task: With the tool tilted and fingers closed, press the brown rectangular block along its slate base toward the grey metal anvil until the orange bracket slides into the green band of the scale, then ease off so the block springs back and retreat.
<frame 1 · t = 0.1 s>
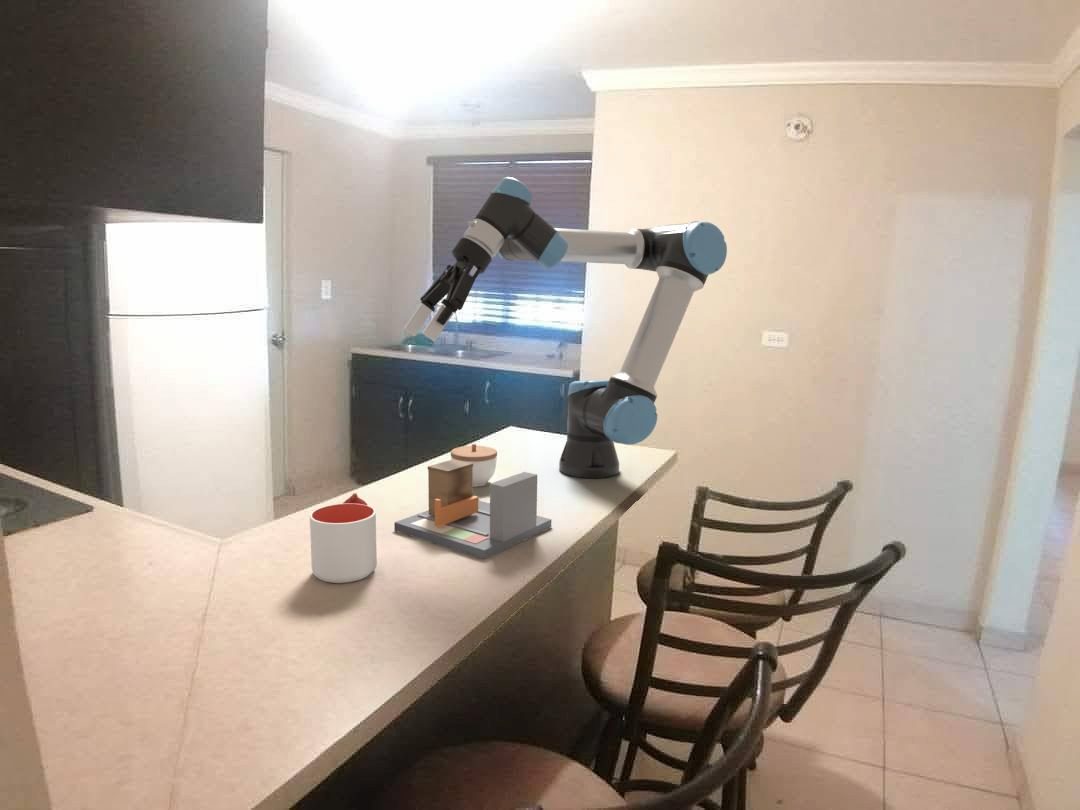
hand: (418, 335, 135), 36 cm above the worktop, tool tilted 35°, fingers open, 13 cm apart
lidded jar: (473, 484, 161), on the worktop
onion: (355, 535, 127), on the worktop
brown rectangular block: (450, 489, 133), point 7 cm above the worktop, slide at 0.0 cm
orange bracket: (457, 505, 129), point 5 cm above the worktop, slide at 0.0 cm
cup: (344, 573, 110), on the worktop
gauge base: (473, 528, 131), on the worktop
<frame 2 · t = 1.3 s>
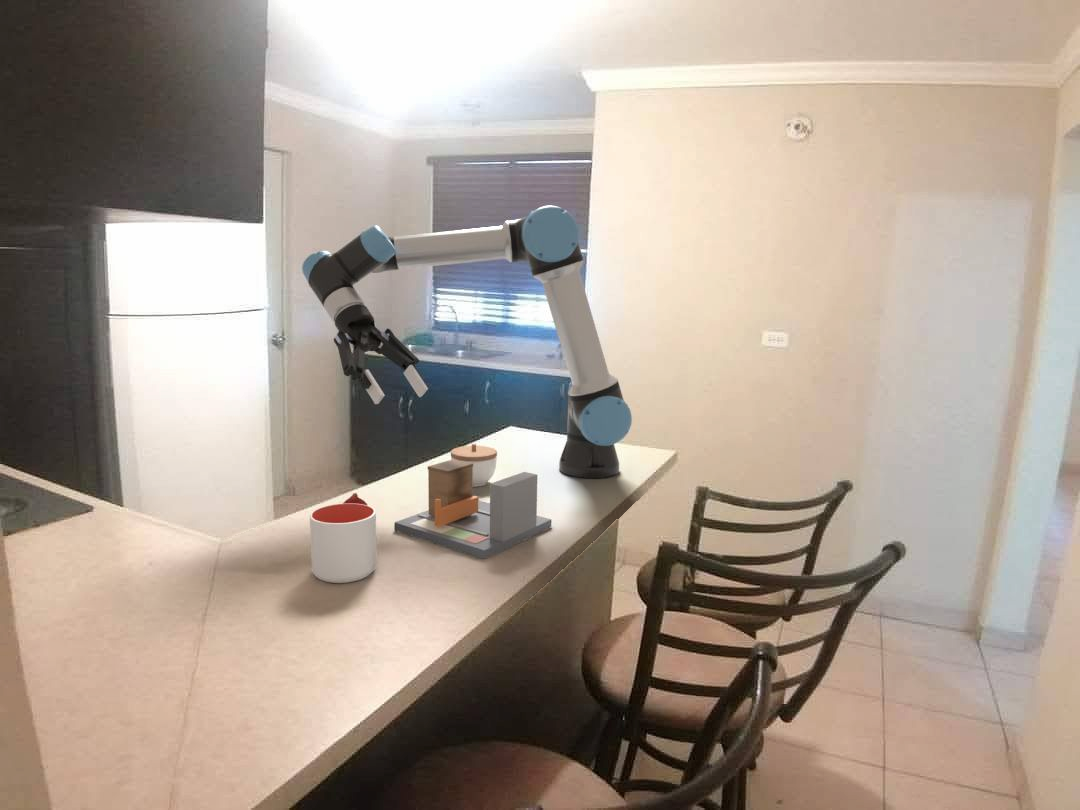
hand: (402, 396, 138), 23 cm above the worktop, tool tilted 45°, fingers open, 11 cm apart
nothing on the worktop moved.
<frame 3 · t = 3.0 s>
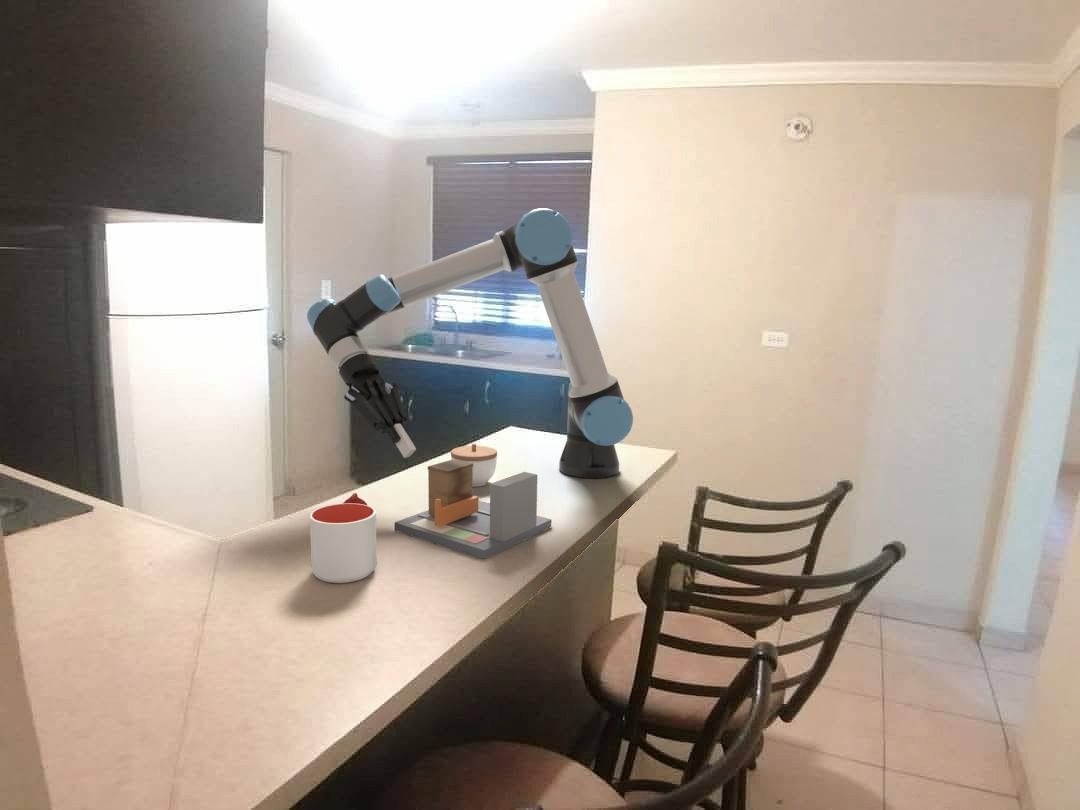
hand: (410, 453, 138), 12 cm above the worktop, tool tilted 45°, fingers closed
nothing on the worktop moved.
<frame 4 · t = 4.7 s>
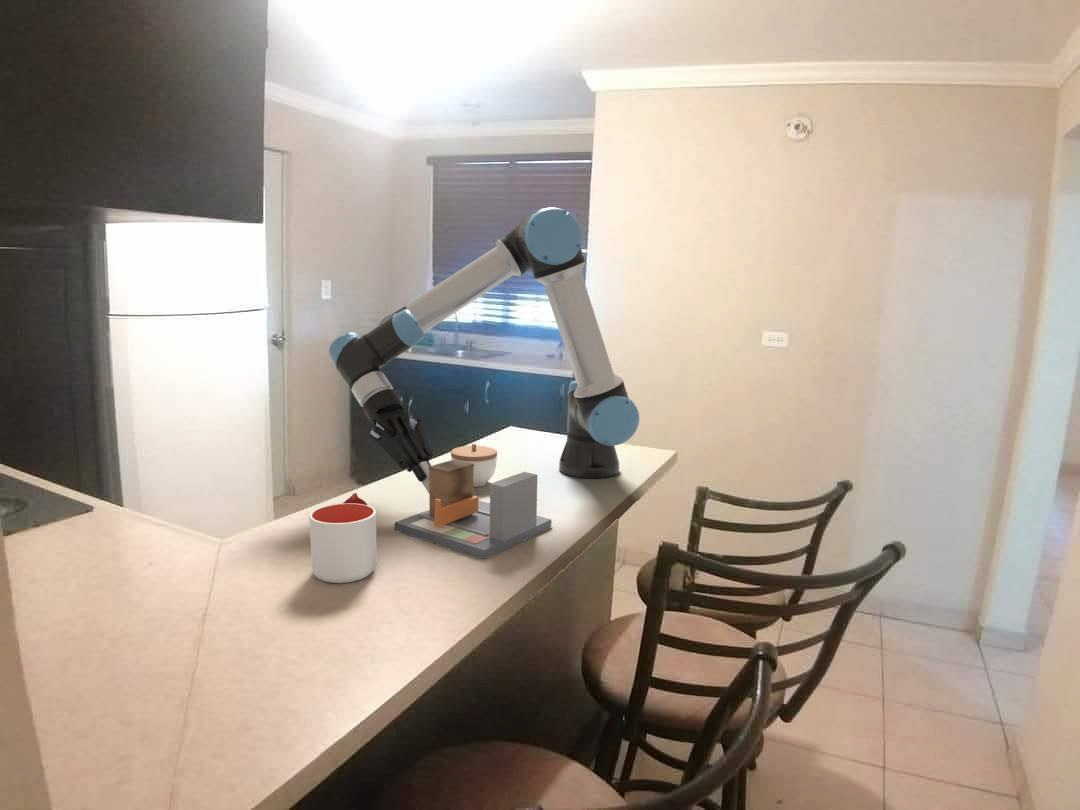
hand: (436, 491, 135), 5 cm above the worktop, tool tilted 45°, fingers closed
brown rectangular block: (451, 489, 133), point 7 cm above the worktop, slide at 0.2 cm, touching gripper
everything else where it was.
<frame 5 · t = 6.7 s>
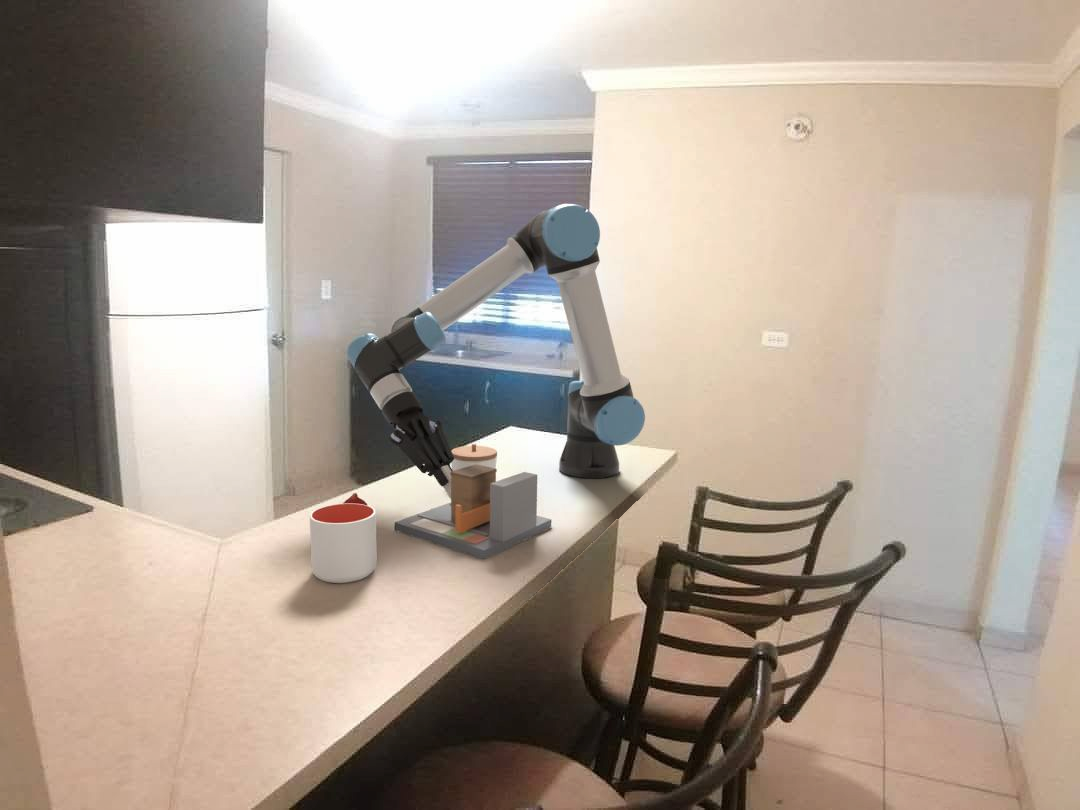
hand: (458, 496, 132), 6 cm above the worktop, tool tilted 45°, fingers closed
brown rectangular block: (473, 494, 130), point 7 cm above the worktop, slide at 5.9 cm, touching gripper
orange bracket: (477, 511, 126), point 5 cm above the worktop, slide at 5.1 cm
everything else where it was.
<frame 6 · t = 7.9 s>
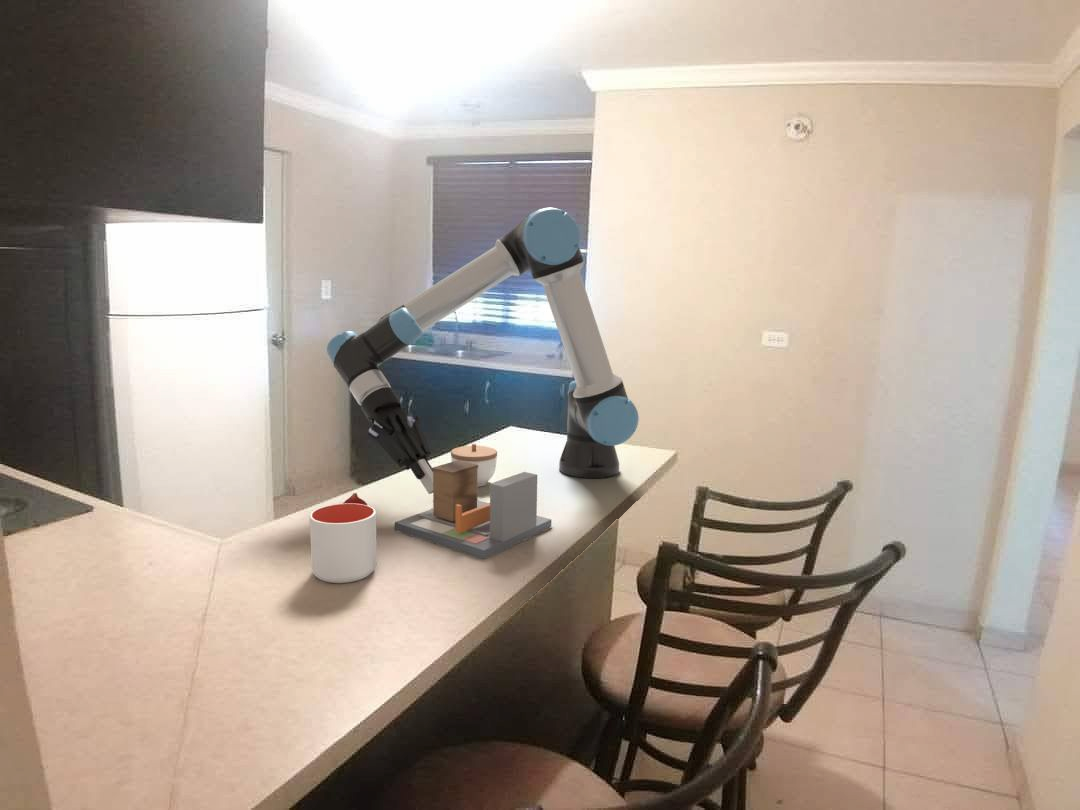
hand: (434, 489, 136), 6 cm above the worktop, tool tilted 45°, fingers closed
brown rectangular block: (455, 490, 133), point 7 cm above the worktop, slide at 1.3 cm
everything else where it was.
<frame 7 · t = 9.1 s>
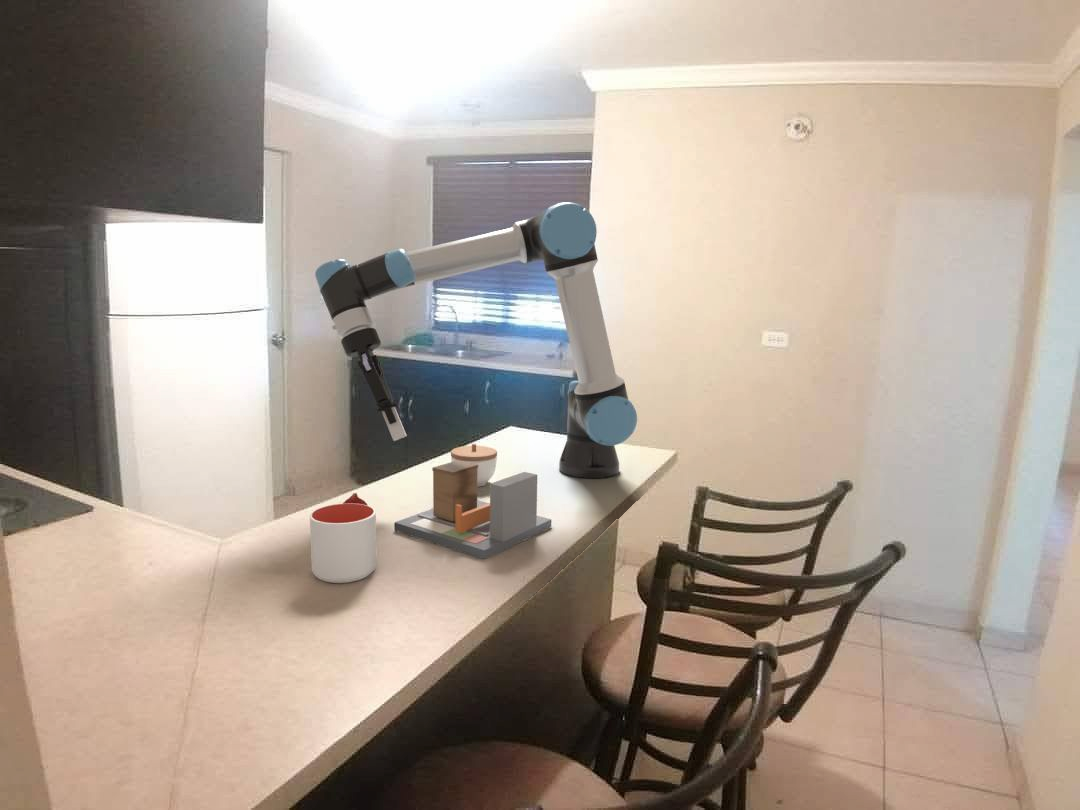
hand: (400, 438, 142), 14 cm above the worktop, tool tilted 25°, fingers closed
nothing on the worktop moved.
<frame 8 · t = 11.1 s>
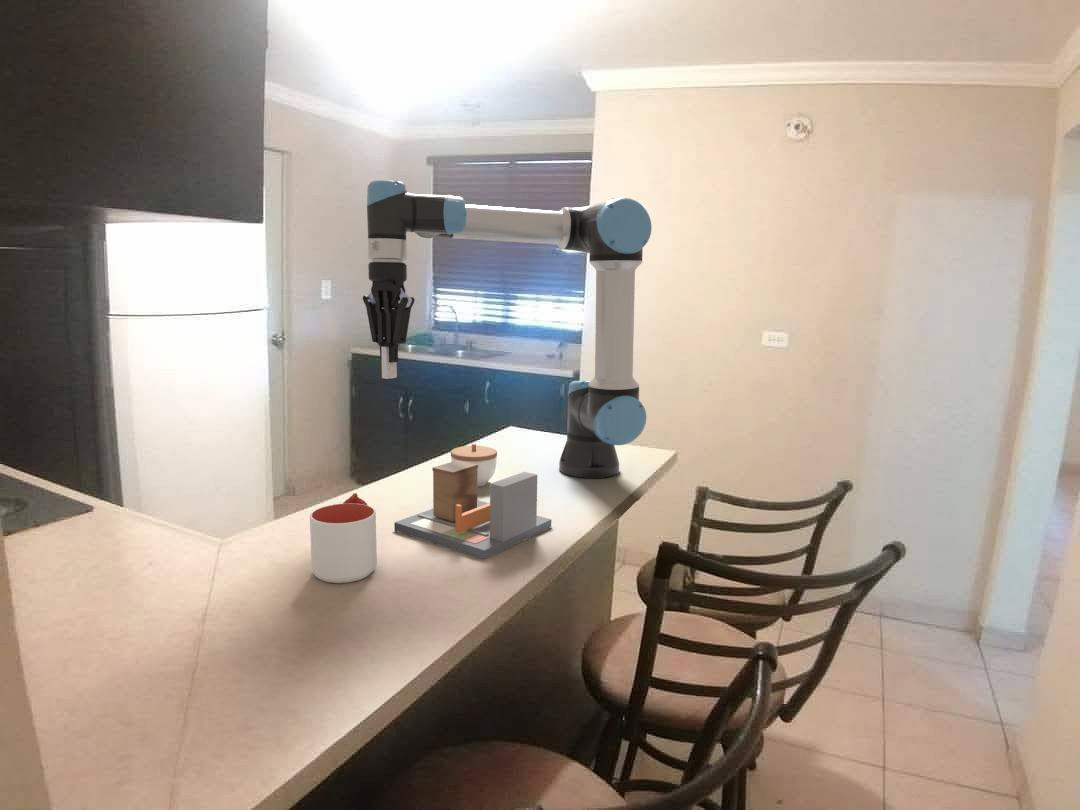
hand: (389, 377, 142), 26 cm above the worktop, tool pointing down, fingers closed
nothing on the worktop moved.
at the end: orange bracket slide at 5.1 cm; brown rectangular block slide at 1.3 cm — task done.
